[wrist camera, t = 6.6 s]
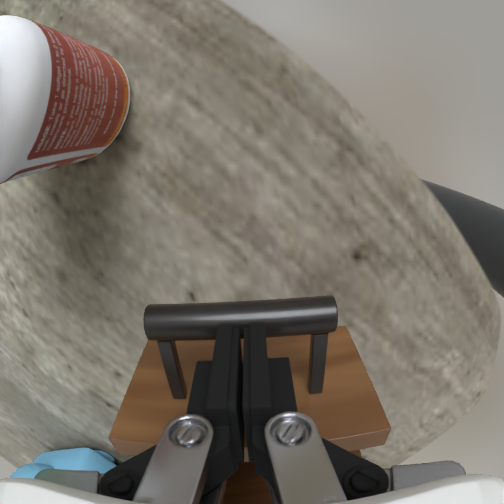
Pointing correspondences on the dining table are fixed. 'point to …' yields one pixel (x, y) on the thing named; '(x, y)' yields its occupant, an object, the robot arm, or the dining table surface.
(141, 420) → the drawer
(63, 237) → the dining table surface
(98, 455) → the teapot
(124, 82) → the pill bottle
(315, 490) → the robot arm
